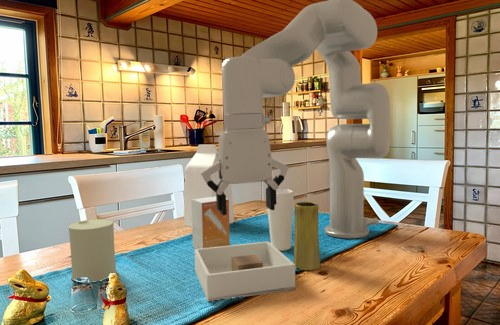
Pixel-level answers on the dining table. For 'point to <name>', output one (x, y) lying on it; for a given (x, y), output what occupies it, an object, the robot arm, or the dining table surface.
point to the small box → (209, 224)
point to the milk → (202, 181)
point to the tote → (243, 271)
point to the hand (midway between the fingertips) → (247, 211)
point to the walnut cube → (246, 262)
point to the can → (92, 249)
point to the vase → (306, 236)
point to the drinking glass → (281, 220)
